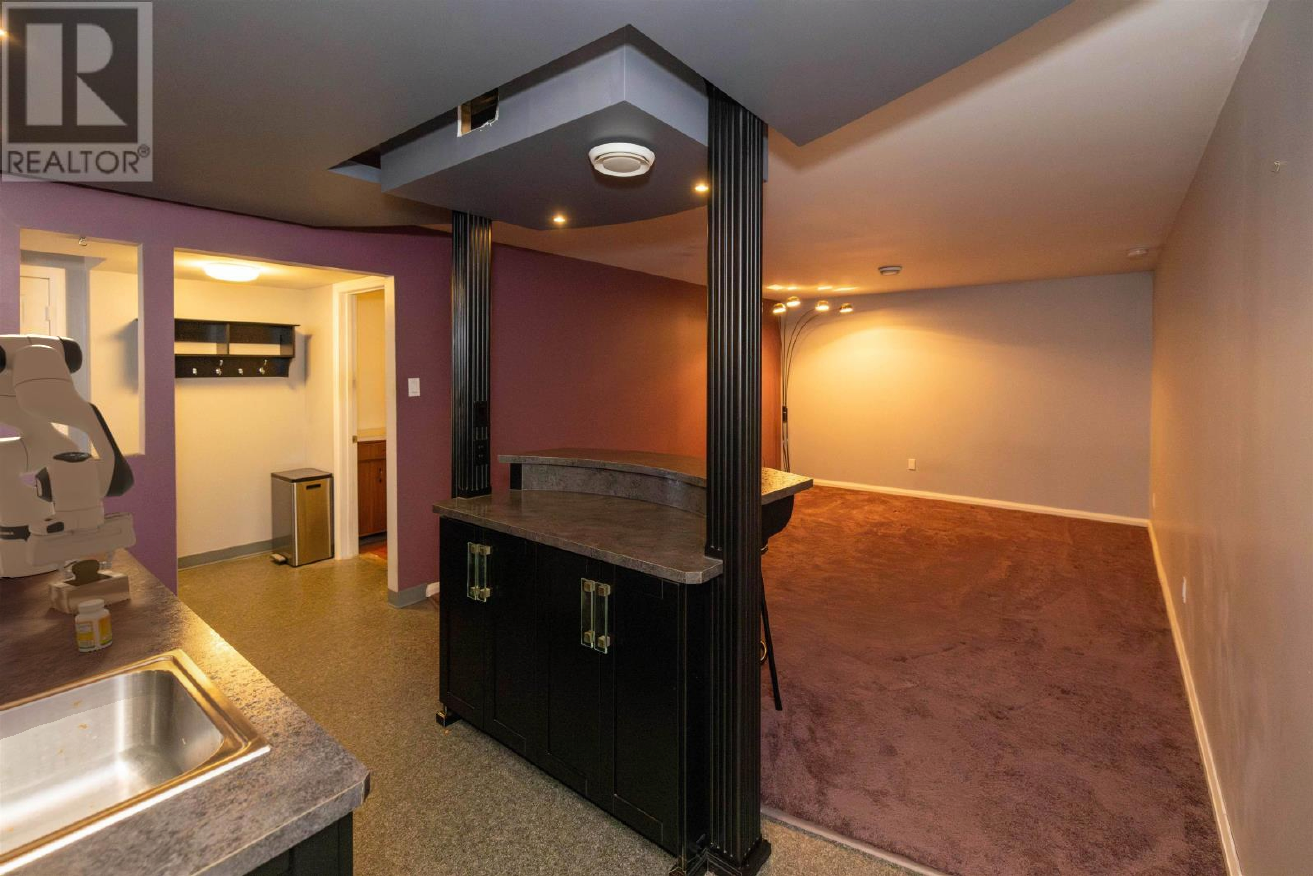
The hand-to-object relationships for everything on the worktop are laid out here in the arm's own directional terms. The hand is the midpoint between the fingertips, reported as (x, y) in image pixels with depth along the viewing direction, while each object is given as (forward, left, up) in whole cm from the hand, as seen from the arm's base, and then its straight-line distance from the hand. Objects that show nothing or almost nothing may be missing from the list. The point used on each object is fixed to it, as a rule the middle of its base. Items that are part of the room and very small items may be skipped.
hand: (87, 573), depth 153 cm
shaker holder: (0, 0, -8) cm, 8 cm away
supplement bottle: (+32, -11, -8) cm, 35 cm away
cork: (0, 0, -8) cm, 8 cm away
